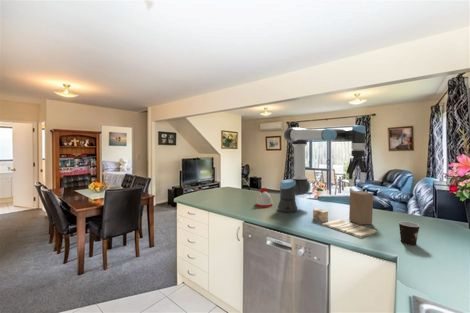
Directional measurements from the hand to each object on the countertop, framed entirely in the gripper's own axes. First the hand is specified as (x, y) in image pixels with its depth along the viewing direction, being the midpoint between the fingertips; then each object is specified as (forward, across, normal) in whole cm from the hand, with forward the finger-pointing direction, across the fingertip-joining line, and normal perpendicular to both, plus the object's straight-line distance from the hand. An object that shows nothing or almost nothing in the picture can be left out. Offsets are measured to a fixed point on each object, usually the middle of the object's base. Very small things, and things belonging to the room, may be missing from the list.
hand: (357, 183), depth 149 cm
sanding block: (+27, -12, +18) cm, 34 cm away
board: (+27, -11, -1) cm, 29 cm away
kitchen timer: (+27, -17, +70) cm, 77 cm away
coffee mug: (+27, -6, -30) cm, 41 cm away
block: (+27, +7, 0) cm, 28 cm away
